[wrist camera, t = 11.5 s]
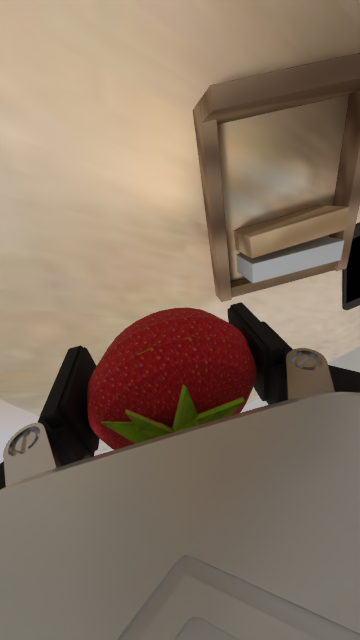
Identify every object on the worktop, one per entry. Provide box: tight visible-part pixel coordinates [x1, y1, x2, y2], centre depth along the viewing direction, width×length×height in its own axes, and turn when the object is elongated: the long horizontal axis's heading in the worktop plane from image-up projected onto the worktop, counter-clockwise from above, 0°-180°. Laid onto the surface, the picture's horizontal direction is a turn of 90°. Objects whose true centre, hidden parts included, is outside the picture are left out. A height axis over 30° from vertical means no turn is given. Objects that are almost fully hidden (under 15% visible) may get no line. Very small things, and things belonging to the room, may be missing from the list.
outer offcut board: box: [236, 236, 344, 283], centre depth 30 cm, size 2×12×5 cm, turn 101°
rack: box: [193, 53, 360, 302], centre depth 26 cm, size 21×19×6 cm
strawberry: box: [87, 308, 257, 450], centre depth 10 cm, size 6×8×10 cm
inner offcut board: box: [234, 205, 349, 258], centre depth 28 cm, size 2×12×5 cm, turn 104°
